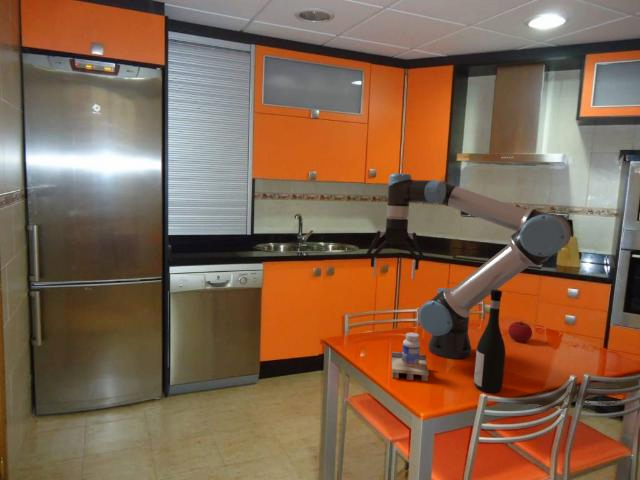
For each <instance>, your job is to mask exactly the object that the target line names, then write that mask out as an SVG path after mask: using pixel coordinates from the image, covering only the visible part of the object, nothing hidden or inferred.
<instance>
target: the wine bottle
mask: <svg viewBox="0 0 640 480" xmlns="http://www.w3.org/2000/svg"><path fill="white" fill-rule="evenodd" d="M502 293H503V291H502V290H500V289H497V290H491V294H490V306H489V317H488V322H487V325H486V327H485V329H484V331H483V333H482V335H481V337H480V338H479V340H478V343H477V347H476V352H475V353H476V355H475V364H474V365H475V366H474V376H473V385H474V386H475V388H477V389H478V390H479V391H482V392H485V393H490V394H493V393H498V392H500V391H502V389H503V383H504V375H505V374H504V372H505V363H506V346H505V342H504V338H503V334H502V331H501V329H500V321H499V319H500V311H501V309H500V308H501V299H502Z"/></svg>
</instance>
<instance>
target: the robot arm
mask: <svg viewBox="0 0 640 480" xmlns="http://www.w3.org/2000/svg"><path fill="white" fill-rule="evenodd" d="M388 179H389V180H388V186H387V187H388V190H387V191H388V192H387V206H386V207H387V208H386V217H387V218H386V221H385V223H386V226H385V231H381V230H379V229H378V230H377V231H376V235H375V237H374V239H373V241H372V243H371V245H370V246H369V248H368V250H367V252H366V256H367V257H368V258H370V268H373V275H372V276H373V278H375V277H376V275H377V274H376V272H377V256H378V254H380V253H381V251H383V249H384V248H385V247H387V245H388V244H390V245H398V246H401V245H404V247H405V248H406V249H407V251H408V252H409V253H410V255H411V256H412V258H413V260H412V269H411V280H415V275H416V271H418V270H419V266H420V265H419V264H420V261H423V260H425V256H424V253H423V251H422V248H421V247H420V244H419V241H418V240H417V233H416V232H411V233H410V232H408V227H409V226H408V225H409V220H408V218H409V214H410V213H409V212H410V203H423V204H424V203H425V204H430V205H431V204H432V205H433V204H440V205H443V206H446V207H449V208H453V210H454V209H455V210H456V211H457V210H458V211H460V212H463V213H466V214H468V215H471V216H473V217H477V218H479V219H481V220H484V221H487V222H490V223H493V224H495V225H498V226H501V227H504V228H506V229H509V230H512V231H514V233H513V234H511V236H510V237H509V238H510V239H509V244H507V245H506V246H505V247H503V248H502V249H501V250H499V252H497V253H495V255H494V256H491V258H489V259H488V260H487V261H486V262H484V263H483V264H482V265H481V266H479V267H478V268H477V269H475V270H474V271H473V272H472V273H471V274H469V275H468V276H467V277H466V278H464V279H463V280H462V281H461V282H459V283H458V284H457V285H455V286H453V288H450V287H439V288H438V289H437V292H436V295H435V296H434V297H433V298H431V299H430V300H428V301H425V302H424V303H423V304H422V305H421V306H420V308H419V311H418V320H419V324H420V326H421V327H422V328H423V330H424V331H425V332H426V333H427V334H430V335H431V336H430V339H429V341H428V346H427V347H428V351H429V352H430V353H432V354H434V355H437V356H438V357H439V356H440V357H443V358H449V359H465V358H466V359H467V358H468V357H471V356H472V344H471V340H470V337H469V336H470V335H469V324H470V313H471V311H470V310H472V309H473V308H474V307H476V306H477V305H479V304H480V303H481V302H482V301H484V300H485V299H486V298H488V297H489V296H491V290H499V289H500V288H501V287H502V286H504V285H505V284H506V283H508V282H509V281H510V280H512V279H513V278H515V277H516V276H517V275H519V274H520V273H522V272H523V271H524V270H525V269H526V268H528V267H530V266H532V267H538V266H539V265H541V264H543V263H544V262H545V261H546V260H548V259H549V258H550V257H552V256H553V255H555V254H557V253H558V252H560V251H561V250H562V249H563V248H565V246H567V245H568V244H569V242H570V240H571V238H572V237H571V236H572V228H571V225H570V223H569V221H567V219H565V218H564V217H563V216H561V215H559V214H555V213H549V212H545V211H540V210H537V209H534V208H532V209H530V210H527V209H524V208H521V207H518V206H516V205H512V204H509V203H506V202H503V201H500V200H497V199H496V198H495V199H494V198H491V197H489V196H486V195H483V194H479V193H476V192H474V191H471V190H468V189H466V188H462V187H459V186H456V185H453V184H451V183H450V182H447V181H444V180H443V181H441V180H435V179H433V180H431V179H430V180H428V179H418V180H417V179H412V175H411V174H410V173H391V174H390V175H389V178H388ZM383 236H384V237H385V238H386V239H384V241H383V242H382V243H381V244H380V245H379V246H378V247H377V248H376V249H375V247H376V244H377V243H378V241H379V240H380V238H382V237H383ZM407 238H410V239H411V240H412V242H413V243H414V246H415V248H416V251H417V253H418V255H417V254H416V253H415V251H414V250H413V249H412V247H411V246H410V245H409V243H408V242H407ZM374 249H375V250H374ZM373 250H374V252H373V253H372V251H373Z"/></svg>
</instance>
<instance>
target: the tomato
mask: <svg viewBox="0 0 640 480" xmlns="http://www.w3.org/2000/svg"><path fill="white" fill-rule="evenodd" d="M507 330H508V331H507V332H508V335H509V337H510V338H511V339H512V340H514V341H516V342H527V341H528V340H530V339H531V338H532V336H533V330H532V328H531V325H529V323H525V322H523V321H522V320H521V321H515V322H512V323H511V324H510V325H509V327H508V328H507Z"/></svg>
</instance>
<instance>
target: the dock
mask: <svg viewBox="0 0 640 480" xmlns="http://www.w3.org/2000/svg"><path fill="white" fill-rule="evenodd" d="M391 372H392V374H391V375H392V379H395V380H396V379H397V380H398V379H399V377H400V376H399V374H405V376H406V380H408V381H413V380H414V375H419V377H420V380H421V382H428V381H429V380H428V379H429V377H428V376H429V375H430V374H429V372H430V371H429V368H428V364H427V355H426V354H422V353H420V354H419V364H418V366H416V367H410V366H405V365H403V364H402V352H399V351H391Z"/></svg>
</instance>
